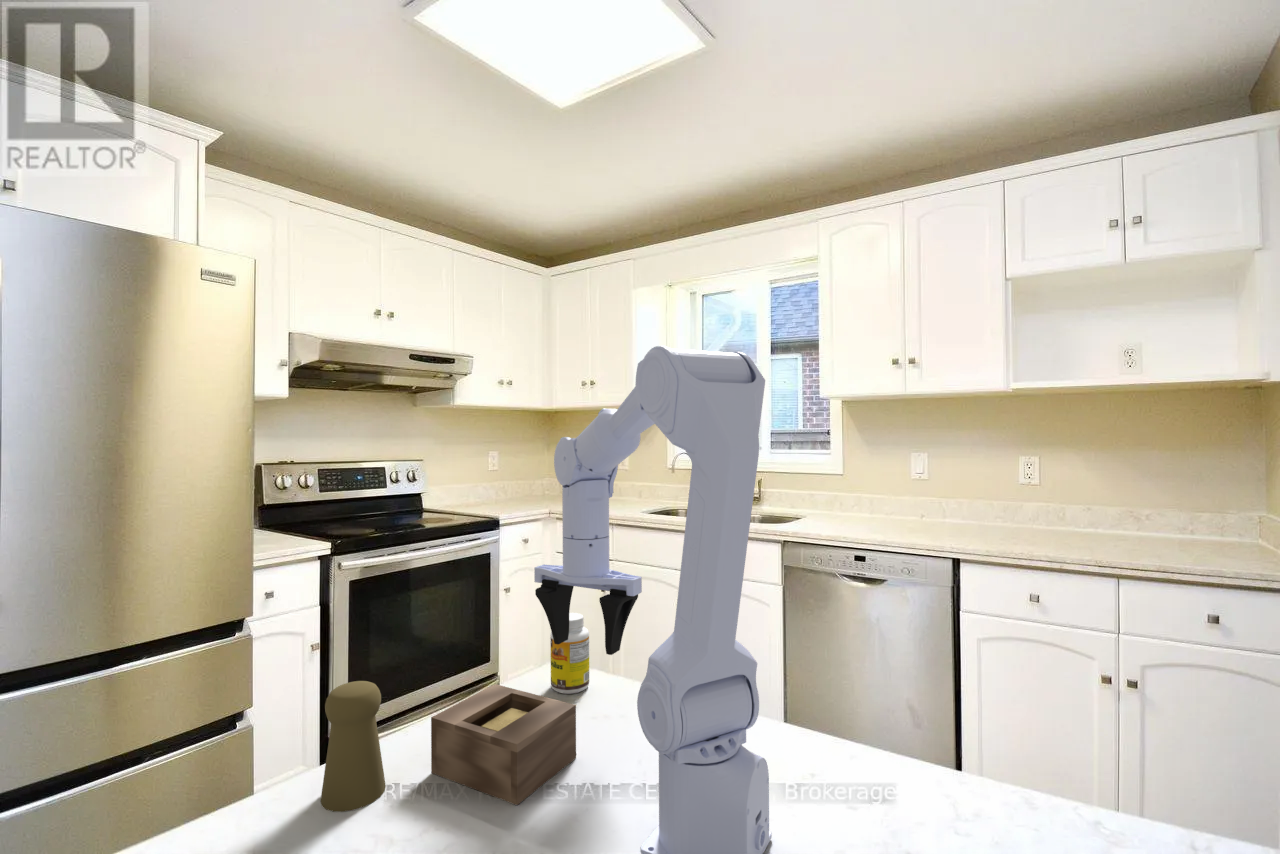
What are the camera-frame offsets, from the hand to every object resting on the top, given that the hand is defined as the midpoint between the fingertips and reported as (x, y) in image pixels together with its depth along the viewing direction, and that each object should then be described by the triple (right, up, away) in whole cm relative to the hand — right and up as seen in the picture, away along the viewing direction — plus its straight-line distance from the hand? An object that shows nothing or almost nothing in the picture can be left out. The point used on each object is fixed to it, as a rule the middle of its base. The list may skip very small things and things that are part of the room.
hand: (586, 646), depth 76 cm
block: (-8, -11, -7) cm, 15 cm away
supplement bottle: (-4, -11, +13) cm, 17 cm away
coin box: (-8, -10, -7) cm, 15 cm away
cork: (-23, -11, -13) cm, 28 cm away
